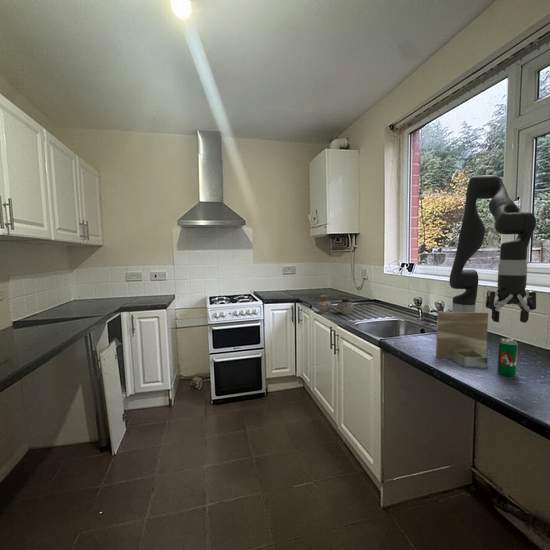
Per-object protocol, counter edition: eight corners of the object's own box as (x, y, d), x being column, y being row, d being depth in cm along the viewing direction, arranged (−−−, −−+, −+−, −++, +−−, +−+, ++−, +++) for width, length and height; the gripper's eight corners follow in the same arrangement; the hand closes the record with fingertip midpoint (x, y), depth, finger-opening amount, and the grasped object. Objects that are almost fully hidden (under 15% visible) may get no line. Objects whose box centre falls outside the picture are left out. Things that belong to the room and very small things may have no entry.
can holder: (450, 357, 120) (450, 348, 119) (472, 358, 119) (472, 349, 118) (462, 366, 110) (463, 357, 110) (487, 367, 109) (487, 358, 109)
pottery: (317, 311, 213) (317, 294, 212) (354, 312, 208) (354, 295, 207) (316, 314, 202) (316, 296, 201) (355, 316, 197) (355, 297, 196)
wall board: (435, 355, 122) (437, 311, 120) (483, 357, 120) (486, 312, 118) (437, 357, 120) (439, 312, 119) (485, 358, 118) (488, 313, 117)
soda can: (508, 371, 105) (510, 337, 105) (519, 377, 100) (521, 342, 100) (493, 371, 106) (495, 337, 105) (504, 377, 101) (506, 342, 100)
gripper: (527, 273, 103) (524, 320, 105) (482, 272, 105) (480, 319, 106) (544, 274, 96) (541, 325, 97) (496, 274, 97) (493, 324, 99)
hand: (509, 321), depth 102 cm, fingers open, 8 cm apart
